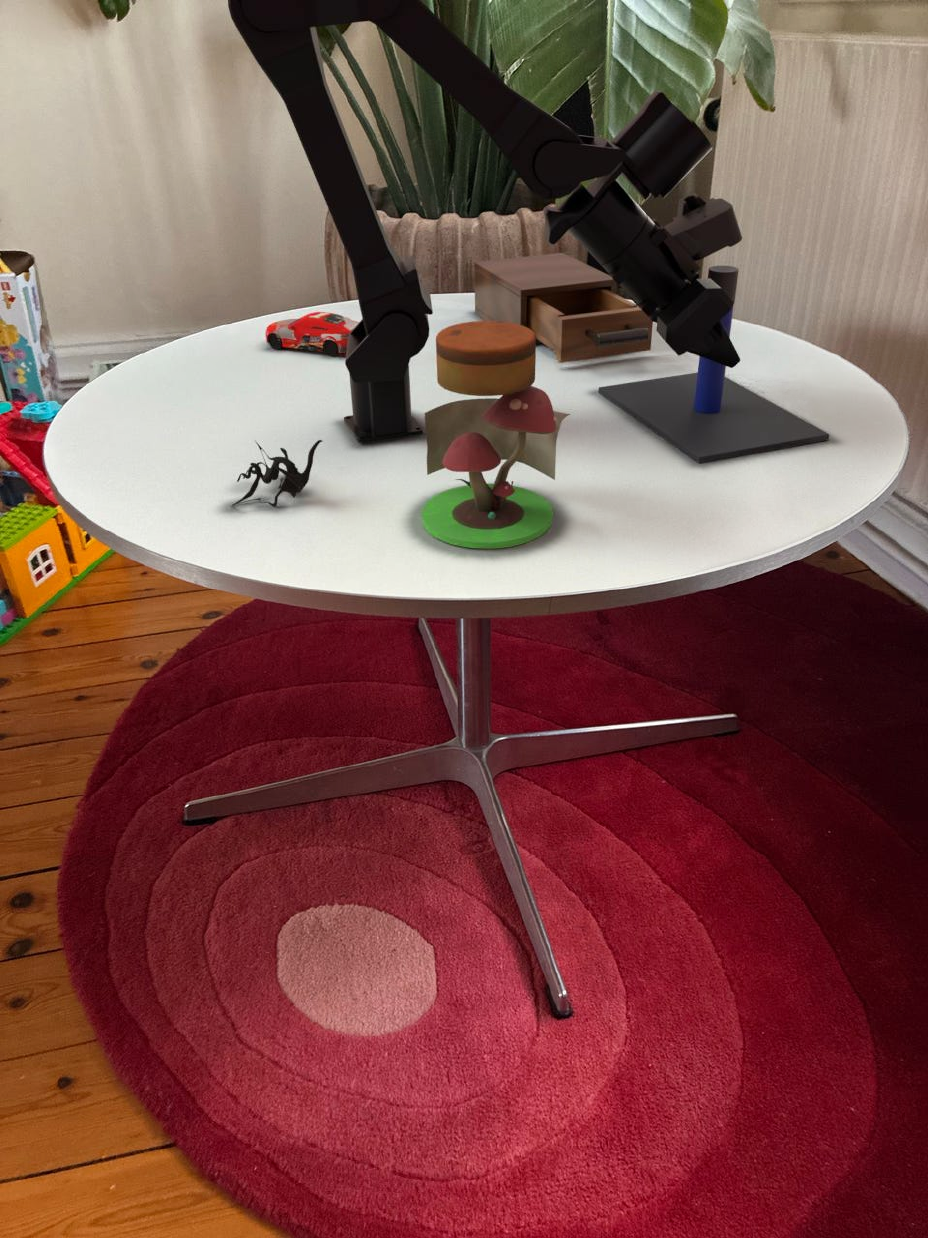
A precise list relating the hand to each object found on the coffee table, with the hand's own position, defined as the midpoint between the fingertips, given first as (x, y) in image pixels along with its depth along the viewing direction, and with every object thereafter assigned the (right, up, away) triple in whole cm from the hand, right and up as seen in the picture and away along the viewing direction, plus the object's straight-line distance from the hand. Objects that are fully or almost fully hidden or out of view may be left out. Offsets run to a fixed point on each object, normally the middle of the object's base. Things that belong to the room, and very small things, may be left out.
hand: (727, 355), depth 94 cm
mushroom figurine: (-23, -17, -15) cm, 33 cm away
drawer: (-11, +7, +21) cm, 24 cm away
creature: (-42, -15, -11) cm, 46 cm away
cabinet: (-16, +13, +31) cm, 37 cm away
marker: (-1, -5, +3) cm, 6 cm away
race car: (-44, +8, +25) cm, 51 cm away
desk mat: (-1, -5, +3) cm, 6 cm away
